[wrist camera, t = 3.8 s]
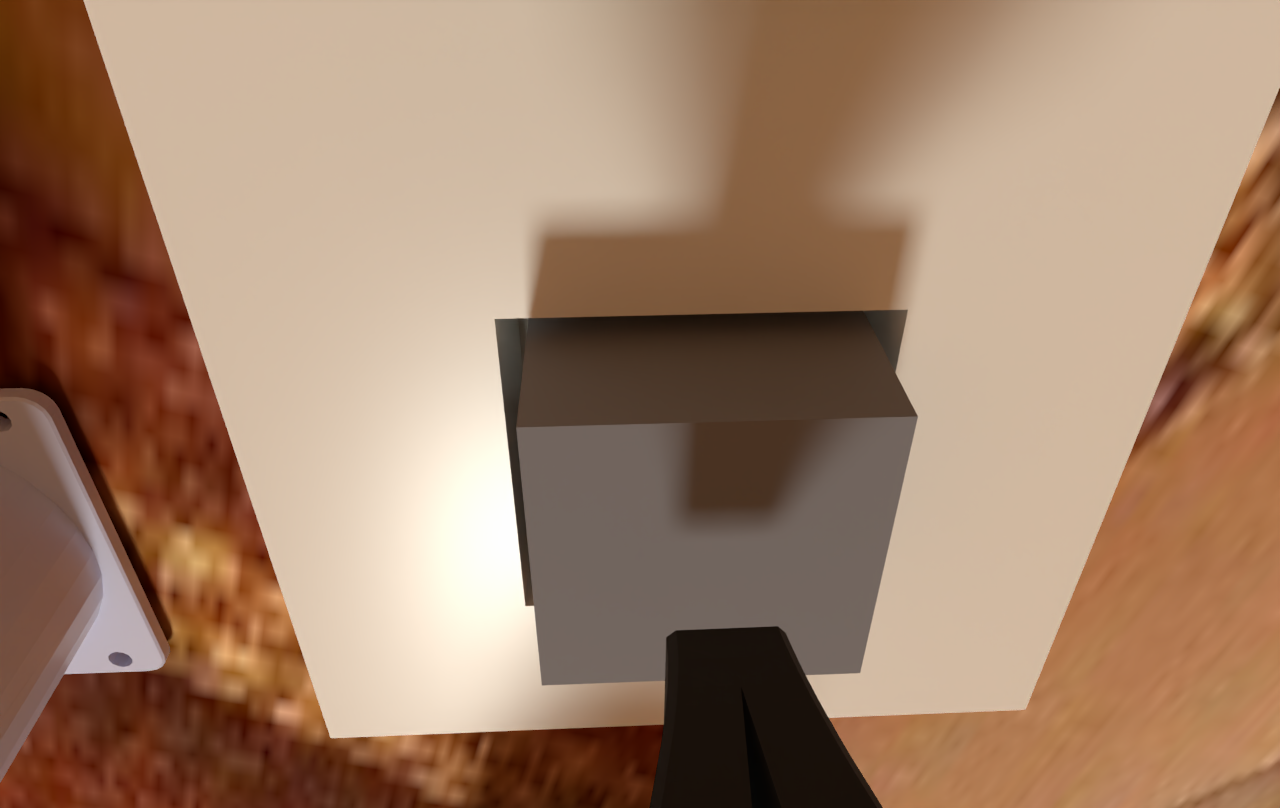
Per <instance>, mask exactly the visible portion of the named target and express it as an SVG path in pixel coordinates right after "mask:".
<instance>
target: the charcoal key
mask: <svg viewBox="0 0 1280 808" xmlns="http://www.w3.org/2000/svg"><path fill="white" fill-rule="evenodd" d="M917 419H918V416H917V414H916V412H915V410H914V408H913V406H912V404H911V402H910V400H909V398H908V396H907V394H906V392H905V390H904V388H903V387H902V385H901V383H900V381H899V379H898V377H897V375H896V373H895V371H894V369H893V367H892V365H891V363H890V361H889V359H888V358H887V356H886V354H885V352H884V350H883V348H882V346H881V344H880V342H879V340H878V338H877V336H876V334H875V332H874V330H873V329H872V327H871V325H870V323H869V321H868V319H867V317H866V315H865V313H864V311H824V312H779V313H735V314H691V315H647V316H603V317H559V318H528V326H527V335H526V344H525V353H524V362H523V371H522V380H521V389H520V398H519V407H518V416H517V425H516V431H517V441H518V451H519V461H520V471H521V481H522V491H523V501H524V511H525V521H526V531H527V541H528V551H529V562H530V572H531V582H532V592H533V602H534V612H535V622H536V632H537V642H538V652H539V662H540V672H541V682H542V685H568V684H594V683H619V682H645V681H665V662H666V637H667V636H669V635H670V634H672V633H673V632H674V631H676V630H697V629H722V628H747V627H771V626H778V627H779V628H780V629H782V630H783V631H784V632H785V633H786V634H787V637H788V639H789V641H790V644H791V646H792V648H793V650H794V652H795V654H796V656H797V659H798V661H799V663H800V665H801V667H802V669H803V671H804V673H805V675H824V674H850V673H860V672H861V667H862V663H863V658H864V654H865V649H866V645H867V640H868V636H869V632H870V627H871V623H872V618H873V614H874V609H875V605H876V601H877V596H878V592H879V587H880V583H881V578H882V574H883V570H884V565H885V561H886V556H887V552H888V547H889V543H890V538H891V534H892V530H893V525H894V521H895V516H896V512H897V507H898V503H899V499H900V494H901V490H902V485H903V481H904V476H905V472H906V467H907V463H908V459H909V454H910V450H911V445H912V441H913V436H914V432H915V428H916V423H917Z"/></svg>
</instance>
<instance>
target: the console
mask: <svg viewBox="0 0 1280 808" xmlns="http://www.w3.org/2000/svg"><path fill="white" fill-rule="evenodd" d="M84 3H85V6H86V9H87V12H88V15H89V18H90V21H91V24H92V27H93V30H94V33H95V36H96V39H97V42H98V45H99V48H100V51H101V54H102V57H103V60H104V63H105V66H106V69H107V72H108V75H109V78H110V81H111V84H112V87H113V90H114V93H115V96H116V99H117V102H118V105H119V108H120V111H121V114H122V117H123V120H124V123H125V126H126V129H127V132H128V135H129V138H130V140H131V143H132V146H133V149H134V152H135V155H136V158H137V161H138V164H139V167H140V170H141V173H142V176H143V179H144V182H145V185H146V188H147V191H148V194H149V197H150V200H151V203H152V206H153V209H154V212H155V215H156V218H157V221H158V224H159V227H160V230H161V233H162V236H163V239H164V242H165V245H166V248H167V251H168V254H169V257H170V260H171V263H172V266H173V269H174V272H175V275H176V278H177V281H178V284H179V287H180V290H181V293H182V296H183V299H184V302H185V305H186V308H187V311H188V314H189V317H190V320H191V323H192V326H193V329H194V332H195V335H196V338H197V341H198V344H199V347H200V350H201V352H202V355H203V358H204V361H205V364H206V367H207V370H208V373H209V376H210V379H211V382H212V385H213V388H214V391H215V394H216V397H217V400H218V403H219V406H220V409H221V412H222V415H223V418H224V421H225V424H226V427H227V430H228V433H229V436H230V439H231V442H232V445H233V448H234V451H235V454H236V457H237V460H238V463H239V466H240V469H241V472H242V475H243V478H244V481H245V484H246V487H247V490H248V493H249V496H250V499H251V502H252V505H253V508H254V511H255V514H256V517H257V520H258V523H259V526H260V529H261V532H262V535H263V538H264V541H265V544H266V547H267V550H268V553H269V556H270V559H271V562H272V564H273V567H274V570H275V573H276V576H277V579H278V582H279V585H280V588H281V591H282V594H283V597H284V600H285V603H286V606H287V609H288V612H289V615H290V618H291V621H292V624H293V627H294V630H295V633H296V636H297V639H298V642H299V645H300V648H301V651H302V654H303V657H304V660H305V663H306V666H307V669H308V672H309V675H310V678H311V681H312V684H313V687H314V690H315V693H316V696H317V699H318V702H319V705H320V708H321V711H322V714H323V717H324V720H325V723H326V726H327V729H328V732H329V735H330V738H347V737H372V736H396V735H421V734H445V733H470V732H494V731H518V730H543V729H567V728H592V727H616V726H640V725H664V699H665V681H645V682H619V683H594V684H568V685H542V682H541V672H540V662H539V652H538V642H537V632H536V622H535V612H534V602H533V592H532V582H531V572H530V562H529V551H528V541H527V531H526V521H525V511H524V501H523V491H522V481H521V471H520V461H519V451H518V441H517V431H516V425H517V416H518V407H519V398H520V389H521V380H522V371H523V362H524V353H525V344H526V335H527V326H528V318H559V317H603V316H647V315H691V314H735V313H779V312H824V311H864V313H865V315H866V317H867V319H868V321H869V323H870V325H871V327H872V329H873V330H874V332H875V334H876V336H877V338H878V340H879V342H880V344H881V346H882V348H883V350H884V352H885V354H886V356H887V358H888V359H889V361H890V363H891V365H892V367H893V369H894V371H895V373H896V375H897V377H898V379H899V381H900V383H901V385H902V387H903V388H904V390H905V392H906V394H907V396H908V398H909V400H910V402H911V404H912V406H913V408H914V410H915V412H916V414H917V416H918V419H917V423H916V428H915V432H914V436H913V441H912V445H911V450H910V454H909V459H908V463H907V467H906V472H905V476H904V481H903V485H902V490H901V494H900V499H899V503H898V507H897V512H896V516H895V521H894V525H893V530H892V534H891V538H890V543H889V547H888V552H887V556H886V561H885V565H884V570H883V574H882V578H881V583H880V587H879V592H878V596H877V601H876V605H875V609H874V614H873V618H872V623H871V627H870V632H869V636H868V640H867V645H866V649H865V654H864V658H863V663H862V667H861V672H860V673H850V674H824V675H806V677H807V679H808V681H809V683H810V685H811V686H812V688H813V690H814V692H815V694H816V696H817V698H818V700H819V702H820V703H821V705H822V707H823V709H824V711H825V712H826V714H827V716H828V718H836V717H860V716H884V715H909V714H933V713H958V712H982V711H1006V710H1025V709H1026V707H1027V705H1028V702H1029V700H1030V697H1031V695H1032V692H1033V690H1034V687H1035V685H1036V683H1037V680H1038V678H1039V675H1040V673H1041V670H1042V668H1043V665H1044V663H1045V661H1046V658H1047V656H1048V653H1049V651H1050V648H1051V646H1052V643H1053V641H1054V638H1055V636H1056V634H1057V631H1058V629H1059V626H1060V624H1061V621H1062V619H1063V616H1064V614H1065V612H1066V609H1067V607H1068V604H1069V602H1070V599H1071V597H1072V594H1073V592H1074V590H1075V587H1076V585H1077V582H1078V580H1079V577H1080V575H1081V572H1082V570H1083V568H1084V565H1085V563H1086V560H1087V558H1088V555H1089V553H1090V550H1091V548H1092V545H1093V543H1094V541H1095V538H1096V536H1097V533H1098V531H1099V528H1100V526H1101V523H1102V521H1103V519H1104V516H1105V514H1106V511H1107V509H1108V506H1109V504H1110V501H1111V499H1112V497H1113V494H1114V492H1115V489H1116V487H1117V484H1118V482H1119V479H1120V477H1121V475H1122V472H1123V470H1124V467H1125V465H1126V462H1127V460H1128V457H1129V455H1130V452H1131V450H1132V448H1133V445H1134V443H1135V440H1136V438H1137V435H1138V433H1139V430H1140V428H1141V426H1142V423H1143V421H1144V418H1145V416H1146V413H1147V411H1148V408H1149V406H1150V404H1151V401H1152V399H1153V396H1154V394H1155V391H1156V389H1157V386H1158V384H1159V382H1160V379H1161V377H1162V374H1163V372H1164V369H1165V367H1166V364H1167V362H1168V359H1169V357H1170V355H1171V352H1172V350H1173V347H1174V345H1175V342H1176V340H1177V337H1178V335H1179V333H1180V330H1181V328H1182V325H1183V323H1184V320H1185V318H1186V315H1187V313H1188V311H1189V308H1190V306H1191V303H1192V301H1193V298H1194V296H1195V293H1196V291H1197V289H1198V286H1199V284H1200V281H1201V279H1202V276H1203V274H1204V271H1205V269H1206V266H1207V264H1208V262H1209V259H1210V257H1211V254H1212V252H1213V249H1214V247H1215V244H1216V242H1217V240H1218V237H1219V235H1220V232H1221V230H1222V227H1223V225H1224V222H1225V220H1226V218H1227V215H1228V213H1229V210H1230V208H1231V205H1232V203H1233V200H1234V198H1235V196H1236V193H1237V191H1238V188H1239V186H1240V183H1241V181H1242V178H1243V176H1244V173H1245V171H1246V169H1247V166H1248V164H1249V161H1250V159H1251V156H1252V154H1253V151H1254V149H1255V147H1256V144H1257V142H1258V139H1259V137H1260V134H1261V132H1262V129H1263V127H1264V125H1265V122H1266V120H1267V117H1268V115H1269V112H1270V110H1271V107H1272V105H1273V103H1274V100H1275V98H1276V95H1277V93H1278V90H1279V88H1280V0H84Z"/></svg>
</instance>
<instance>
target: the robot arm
mask: <svg viewBox="0 0 1280 808" xmlns="http://www.w3.org/2000/svg"><path fill="white" fill-rule="evenodd" d="M0 412H2V413H4V414H6V415H7V416H8V417H9V419H6V418H4V417H2V416H0V782H1V781H2V779H3V777H4V775H5V774H6V772H7V770H8V769H9V767H10V765H11V763H12V762H13V760H14V758H15V757H16V755H17V753H18V752H19V750H20V748H21V746H22V745H23V743H24V741H25V740H26V738H27V736H28V734H29V733H30V731H31V729H32V728H33V726H34V724H35V723H36V721H37V719H38V717H39V716H40V714H41V712H42V711H43V709H44V707H45V705H46V704H47V702H48V700H49V699H50V697H51V695H52V694H53V692H54V690H55V688H56V687H57V685H58V683H59V682H60V680H61V678H62V676H63V675H64V674H80V673H106V672H133V671H151V670H156V669H159V668H160V667H162V666H163V665H164V663H165V661H166V659H167V657H168V655H169V653H170V647H169V644H168V642H167V640H166V638H165V636H164V633H163V631H162V629H161V627H160V625H159V623H158V621H157V618H156V616H155V614H154V612H153V610H152V608H151V605H150V603H149V601H148V599H147V597H146V595H145V592H144V590H143V588H142V586H141V584H140V582H139V580H138V577H137V575H136V573H135V571H134V569H133V567H132V564H131V562H130V560H129V558H128V556H127V554H126V552H125V549H124V547H123V545H122V543H121V541H120V539H119V536H118V534H117V532H116V530H115V528H114V526H113V524H112V521H111V519H110V517H109V515H108V513H107V511H106V508H105V506H104V504H103V502H102V500H101V498H100V495H99V493H98V491H97V489H96V487H95V485H94V483H93V480H92V478H91V476H90V474H89V472H88V470H87V467H86V465H85V463H84V461H83V459H82V457H81V455H80V452H79V450H78V448H77V446H76V444H75V442H74V439H73V437H72V435H71V433H70V431H69V429H68V427H67V424H66V422H65V420H64V418H63V416H62V414H61V411H60V409H59V408H58V406H57V405H56V403H55V402H54V401H53V400H52V399H51V398H49V397H48V396H47V395H45V394H44V393H41V392H39V391H36V390H34V389H26V388H4V389H0ZM650 808H883V807H882V806H881V804H880V803H879V801H878V799H877V798H876V796H875V794H874V793H873V791H872V790H871V788H870V786H869V785H868V783H867V782H866V780H865V778H864V777H863V775H862V774H861V772H860V770H859V769H858V767H857V766H856V764H855V762H854V761H853V759H852V758H851V756H850V754H849V753H848V751H847V749H846V747H845V746H844V744H843V742H842V741H841V739H840V737H839V736H838V734H837V732H836V730H835V729H834V727H833V725H832V723H831V721H830V720H829V718H828V716H827V714H826V712H825V711H824V709H823V707H822V705H821V703H820V702H819V700H818V698H817V696H816V694H815V692H814V690H813V688H812V686H811V685H810V683H809V681H808V679H807V677H806V675H805V673H804V671H803V669H802V667H801V665H800V663H799V661H798V659H797V656H796V654H795V652H794V650H793V648H792V646H791V644H790V641H789V639H788V637H787V634H786V633H785V632H784V631H783V630H782V629H780V628H779V627H778V626H771V627H747V628H722V629H697V630H676V631H674V632H673V633H672V634H670V635H669V636H667V637H666V662H665V699H664V727H663V735H662V742H661V748H660V754H659V759H658V765H657V770H656V776H655V781H654V787H653V792H652V798H651V803H650Z"/></svg>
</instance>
